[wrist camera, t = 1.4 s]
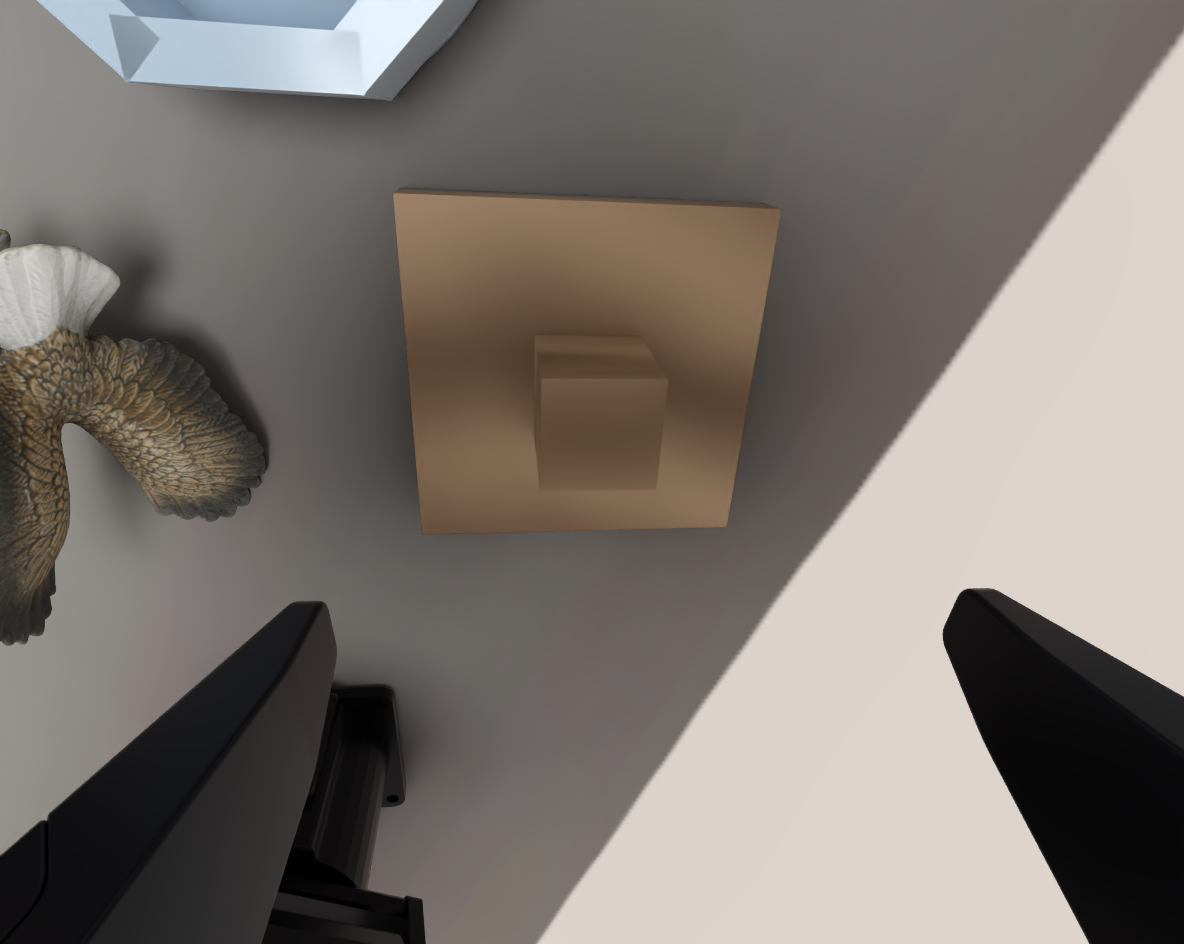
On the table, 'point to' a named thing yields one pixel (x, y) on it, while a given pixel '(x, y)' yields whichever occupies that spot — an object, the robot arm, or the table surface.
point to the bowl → (266, 42)
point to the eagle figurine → (95, 420)
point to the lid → (579, 357)
